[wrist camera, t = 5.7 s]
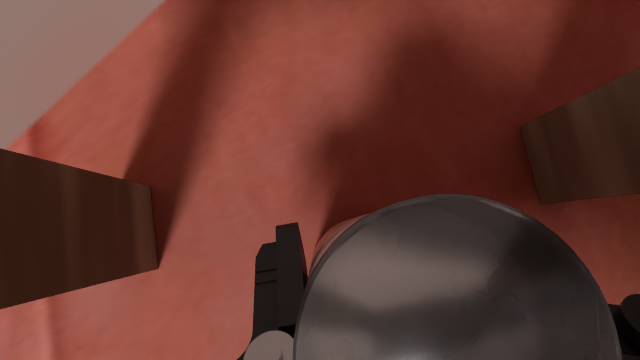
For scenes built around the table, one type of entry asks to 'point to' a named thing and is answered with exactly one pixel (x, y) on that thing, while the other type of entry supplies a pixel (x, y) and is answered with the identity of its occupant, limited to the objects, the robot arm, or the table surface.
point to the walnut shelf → (137, 217)
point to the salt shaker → (450, 288)
